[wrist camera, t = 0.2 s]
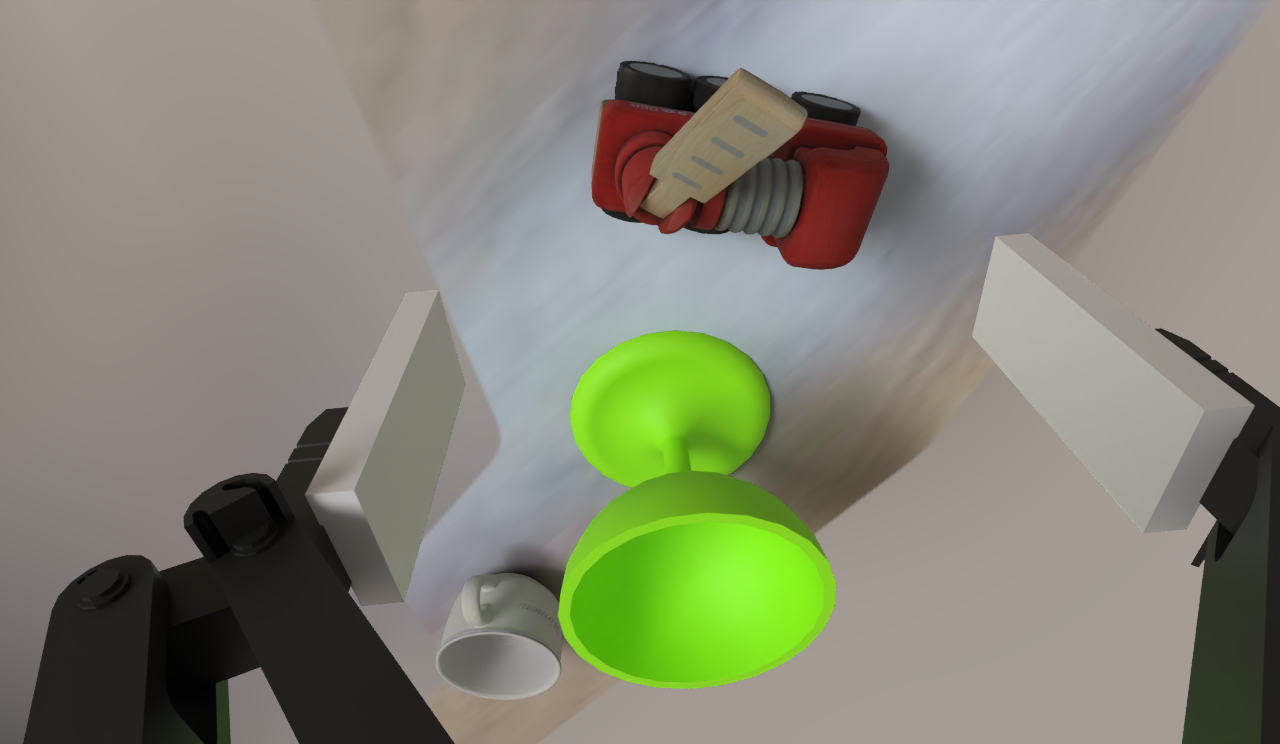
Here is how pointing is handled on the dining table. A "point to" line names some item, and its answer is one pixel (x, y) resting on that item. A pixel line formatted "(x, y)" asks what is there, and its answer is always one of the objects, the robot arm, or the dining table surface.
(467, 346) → the dining table surface
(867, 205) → the toy fire truck
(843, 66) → the dining table surface
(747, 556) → the wineglass
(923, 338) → the dining table surface
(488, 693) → the teacup
